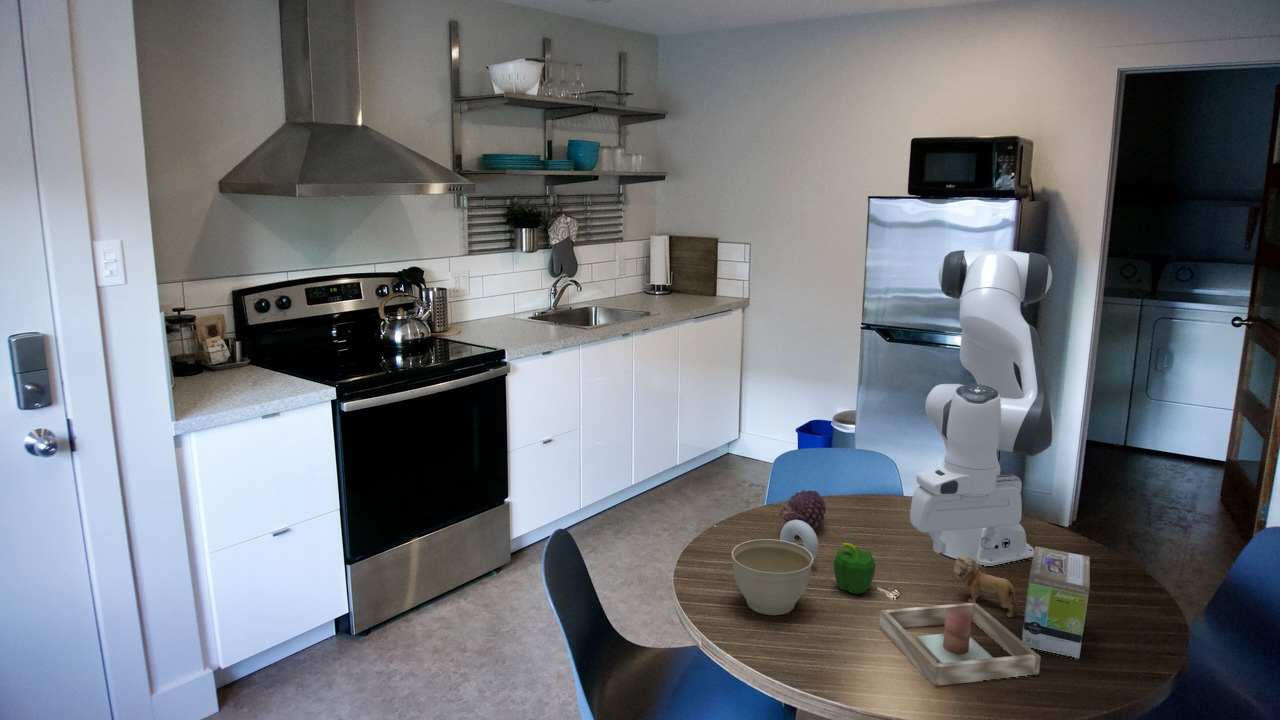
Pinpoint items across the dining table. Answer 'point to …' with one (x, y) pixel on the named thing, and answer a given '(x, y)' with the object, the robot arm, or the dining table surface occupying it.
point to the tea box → (1056, 601)
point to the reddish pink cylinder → (957, 630)
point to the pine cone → (805, 508)
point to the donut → (800, 535)
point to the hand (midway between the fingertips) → (963, 549)
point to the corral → (958, 666)
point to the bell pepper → (854, 569)
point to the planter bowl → (771, 574)
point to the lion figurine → (985, 583)
